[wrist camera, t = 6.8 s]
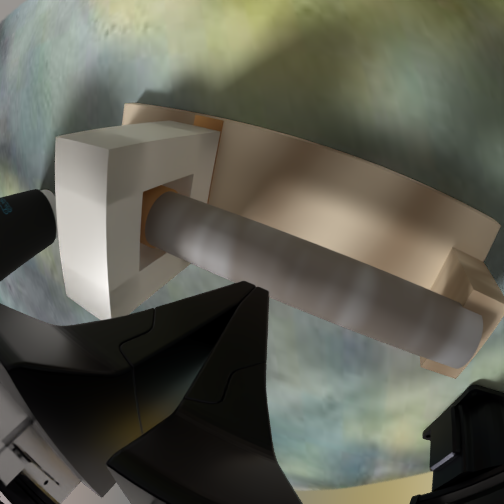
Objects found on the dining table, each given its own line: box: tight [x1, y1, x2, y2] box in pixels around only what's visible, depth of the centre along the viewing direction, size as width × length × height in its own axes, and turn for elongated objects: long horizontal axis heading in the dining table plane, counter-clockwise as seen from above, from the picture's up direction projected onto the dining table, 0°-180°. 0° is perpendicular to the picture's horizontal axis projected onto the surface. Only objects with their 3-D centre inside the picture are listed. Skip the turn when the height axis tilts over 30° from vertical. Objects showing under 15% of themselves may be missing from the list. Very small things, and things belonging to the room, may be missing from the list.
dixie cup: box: [0, 189, 58, 281], centre depth 19 cm, size 8×8×11 cm
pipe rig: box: [122, 103, 504, 379], centre depth 13 cm, size 21×8×6 cm, turn 77°
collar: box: [55, 121, 220, 320], centre depth 13 cm, size 3×7×7 cm, turn 167°
